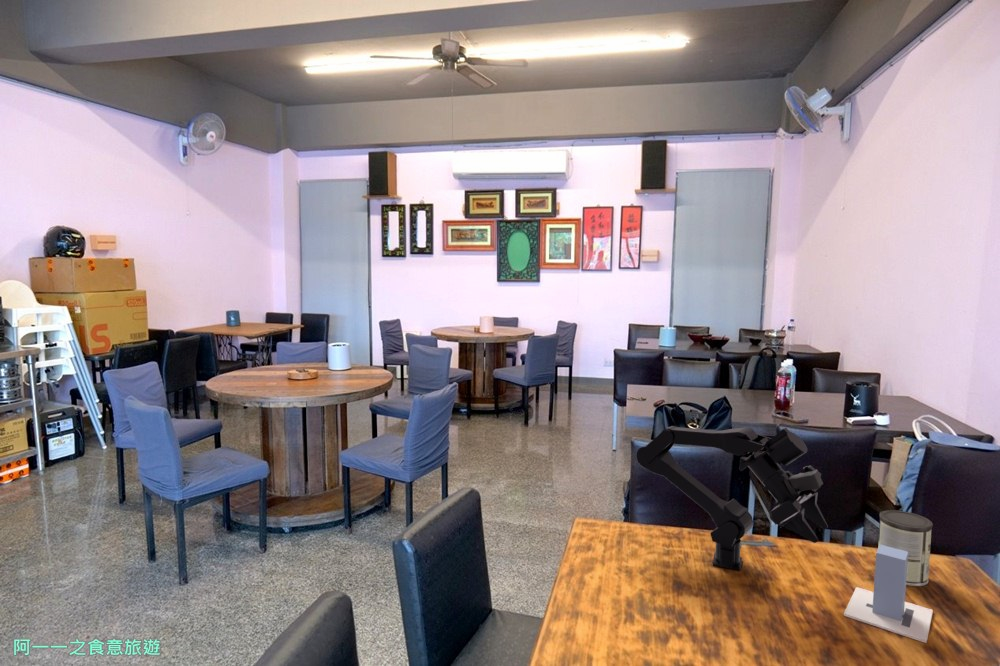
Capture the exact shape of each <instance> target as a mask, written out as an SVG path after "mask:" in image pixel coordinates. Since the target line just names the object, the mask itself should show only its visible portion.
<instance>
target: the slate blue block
mask: <svg viewBox="0 0 1000 666" xmlns="http://www.w3.org/2000/svg"><path fill="white" fill-rule="evenodd" d="M907 564H908V551H904V550H900V549H896V548H892V547H888V546H884V545H880V546H879V548H878V547H877V551H876V552H875V567H874V568H875V569H874V581H873V582H874V583H873V592H874V594H873V610H872V612H873V613H877V614H880V615H883V616H886V617H889V618H892V619H895V620H898V621H901V620H902V617H903V613H904V606H905V602H906V591H907V590H906V588H907V585H906V578H907Z"/></svg>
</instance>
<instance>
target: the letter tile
mask: <svg viewBox="0 0 1000 666" xmlns="http://www.w3.org/2000/svg"><path fill="white" fill-rule="evenodd" d="M873 594H874V591H871V590H868V589H865V588H860V587H859V586H856V587H855V589H854V592H853V593H852V596H851V598H850V599H849V602H848V604H847V606H846V608H845V610H844V613H843V616H844V617H846V618H849V619H853V620H855V621H859V622H861V623H864V624H868V625H871V626H874V627H877V628H879V629H882V630H886V631H889V632H892V633H894V634H897V635H900V636H904V637H906V638H910V639H913V640H916V641H919V642H921V643H923V644H924V643H925V644H927V643H928V642H927V641H928V637H929V634H930V633H929V632H930V627H931V624H932V623H931V622H932V618H933V612H934V610H933V609H930V608H927V607H926V606H925V607H924V606H922V605H917V604H914V603H911V602H908V601H905V606H904V613H903V617H902V620H901V621H898V620H895V619H892V618H889V617H886V616H883V615H880V614H877V613H873V612H872V610H873Z"/></svg>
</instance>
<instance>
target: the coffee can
mask: <svg viewBox="0 0 1000 666" xmlns="http://www.w3.org/2000/svg"><path fill="white" fill-rule="evenodd" d="M933 526H934V523H933V522H932V520H930V519H928V518H927V517H925V516H922V515H919V514H917V513H914V512H910V511H903V510H897V509H893V510H892V509H891V510H890V509H888V510H882V511H880V512H879V529H878V547H877V549H878V548H879V546H880V545H884V546H888V547H892V548H896V549H900V550H904V551H908V564H907V578H906V586H910V587H923V586H927V585H928V583H929V574H930V573H929V571H930V558H931V556H930V555H931V545H932V544H931V542H932V540H931V539H932V529H933Z"/></svg>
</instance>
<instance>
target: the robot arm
mask: <svg viewBox="0 0 1000 666" xmlns="http://www.w3.org/2000/svg"><path fill="white" fill-rule="evenodd" d="M675 444H677V445H685V446H686V445H687V446H688V445H689V446H696V447H706V448H715V449H718V450H721V451H723V452H724V453H727V454H731V455H735V456H739V457H740V458H739V466H738V467H739V468H738V469H739V471H740V472H742V471H744V470H745V469H746V468H747V467H748V469H750V470H751V473H753V474H754V476H755V477H756V478H757V479H758V480H759V481H760V483H761V484H762V485H763V487H762V488H761V489H762V491H764V492H765V493H766V492H768V493H769V494H771V496H772V498H774V500H775V503H774V505H775V507H773V508H772V510H770V511H769V512H770V513H769V518H770V520H771V521H772V522H773V524H774V525H776V526H777V525H779V527H784V528H786V529H787V530H790V531H792V532H794V533H795V534H796V535H797V534H798V535H799V536H801V537H803V538H805V539H807V540H808V541H809V542H812V543H813V544H815V543H818V542H819V538H818V537H817V535H816V533H815V531H814V530H813V528H812V527H811V526H810V525H809V523H808V521H807V520H806V518H807V519H809V520H810V521H812V523H814V524H815V525H817V526H818V527H820V528H821V529H823V530H827V529H828V528H829V525H828V523H827V522H826V519H825V518H824V517H825V516H823V513H822V511H821V509H820V507H819V506H818V502H817V501H818V495H819V494H818V493H819V492H816V491H818V490H819V489H821V486H823V485H824V482H823V480H822V478H821V476H822V472H819V470H818V469H816V468H814V467H813V466H812V465H806V466H804V467H803V468H802V472H799V473H798V474H793V473H792V472H791V470H790V471H789V470H788V469H787V470H786V471H785V470H784V469H783V468H782V466H781V464H782V465H783V466H788V465H790V464H791V463H793V462H794V461H796V460H797V459H798V458H800V457H801V456H803V455H805V454H806V453H808V450H809V449H808V446H807V445H806V443H805V442H804V440H803V439H802V438H801V437H800V436H798V435H797V434H796V433H794V432H793V431H790V430H789V429H788V428H787V427H784V428H782V429H781V430H779V431H778V432H777V433H776V435H773V436H772V437H768V436H765V435H762V434H759V433H757V432H755V430H754V429H753V428H751V427H736V428H729V429H724V430H715V429H714V430H713V429H703V428H690V427H681V426H680V427H678V426H675V425H671V426H668V427H666V428H663V429H662V431H661V432H660V433H659V434H658V435H657V436H656V437H654V438H653V439H652V440H651V441H650V442H649V443H648V444H646V445H644V446H641V447H639V449H638V450H637V452H636V461H637V463H638V465H640V467H642V468H643V469H645V470H647V471H649V472H651V473H652V474H655V475H659V476H662V477H664V478H665V479H666V480H667V481H669V482H670V483H671V484H673V485H674V486H675V487H676V488H677V489H678V490H680V491H681V492H682V493H683V494H685V495H686V496H687V497H688V498H690V499H691V500H692V501H693V502H694V503H696V504H697V505H698V506H699V507H701V509H703V510H704V511H705V512H706V513H708V514H709V516H710V517H711V519H712V521H713V523H714V524H715V525H714V526H716V528H715V529H713V530H712V531H711V532H710V533H709V534H710V537H711V541H712V542H714V543H715V551H714V555H713V558H712V562H711V563H712V564H711V565H713V566H715V567H716V566H717V567H721V568H725V569H731V570H736V571H741V570H742V563H743V558H742V557H741V543H742V542H741V539H742V538H744V536H745V535H746V534H748V533H749V532H750V531H751V530H752V529H753V527H754V520H753V516H752V514H751V513H750V512H749V511H748V510H749V508H747V507H745V506H743V505H741V504H740V502H738V500H736V499H735V498H732V499H731V500H729V501H727V500H724V499H722V498H720V497H719V496H718V495H716V493H715V492H714V491H712V490H710V489H709V488H708V487H707V486H705V485H704V484H703V483H701V482H700V481H699V480H698V479H697V478H695V476H692V474H690V473H689V472H688V471H687V470H685V469H684V468H683V467H681V466H680V465H679V464H677V462H676V461H675V459H674V457H673V455H672V453H671V452H670V450H671V449H672V448H673V447H674V445H675ZM764 448H765V449H766V450H765V451H763V452H760V451H762V450H763V449H764ZM749 453H752V454H750V455H749V456H748V457H746V455H748V454H749Z"/></svg>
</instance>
